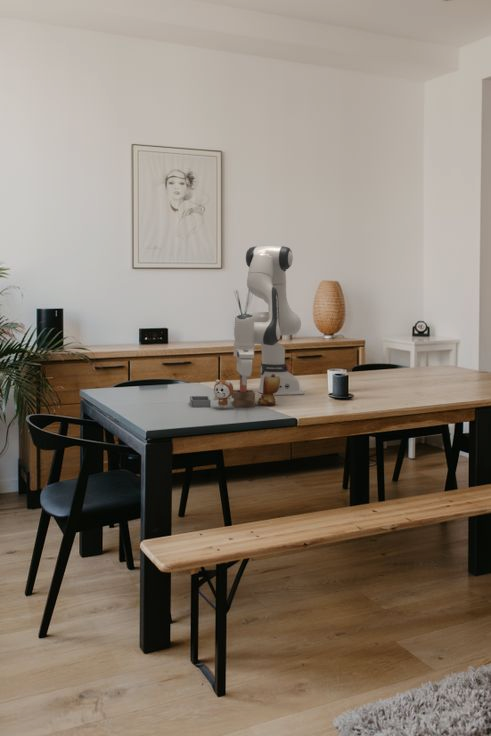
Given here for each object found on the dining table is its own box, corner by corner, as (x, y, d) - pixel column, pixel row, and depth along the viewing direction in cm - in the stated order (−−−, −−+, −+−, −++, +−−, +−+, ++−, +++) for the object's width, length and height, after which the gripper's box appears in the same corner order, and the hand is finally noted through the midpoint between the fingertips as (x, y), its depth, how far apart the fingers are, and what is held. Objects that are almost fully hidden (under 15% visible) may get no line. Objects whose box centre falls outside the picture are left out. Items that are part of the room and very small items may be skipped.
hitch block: (251, 403, 304) (251, 389, 304) (254, 406, 295) (255, 393, 295) (231, 403, 303) (231, 389, 302) (233, 407, 294) (234, 393, 293)
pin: (245, 404, 301) (246, 374, 299) (246, 405, 298) (247, 375, 296) (238, 404, 300) (239, 374, 299) (239, 405, 298) (240, 375, 296)
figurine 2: (255, 402, 306) (264, 370, 305) (272, 406, 307) (280, 374, 306) (258, 406, 296) (267, 373, 295) (274, 410, 297) (284, 377, 296)
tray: (208, 402, 304) (208, 396, 303) (210, 407, 293) (210, 400, 292) (189, 402, 302) (189, 396, 302) (191, 407, 292) (191, 400, 291)
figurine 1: (207, 409, 288) (208, 380, 287) (217, 405, 296) (217, 378, 295) (227, 411, 284) (228, 382, 283) (236, 407, 292) (237, 379, 291)
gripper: (233, 350, 306) (233, 380, 308) (239, 354, 286) (239, 387, 288) (247, 350, 307) (247, 381, 309) (254, 354, 287) (254, 387, 289)
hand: (243, 384), depth 298 cm, fingers open, 3 cm apart
